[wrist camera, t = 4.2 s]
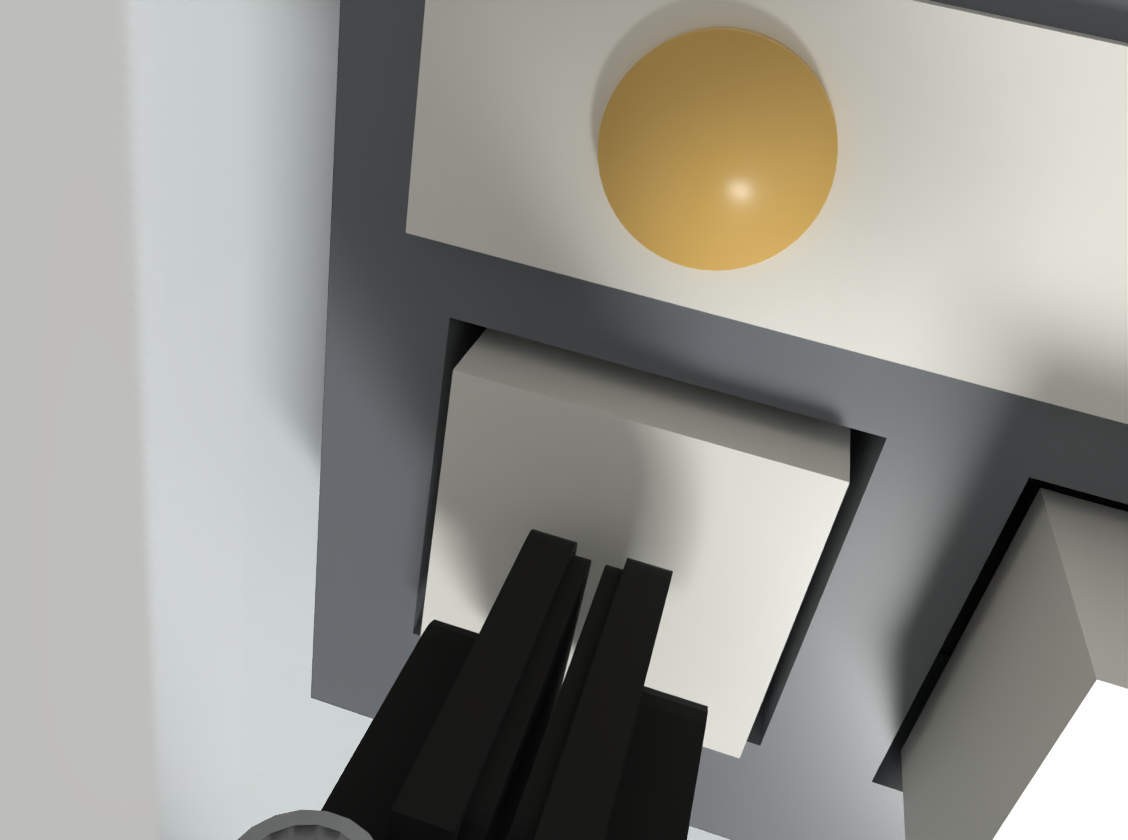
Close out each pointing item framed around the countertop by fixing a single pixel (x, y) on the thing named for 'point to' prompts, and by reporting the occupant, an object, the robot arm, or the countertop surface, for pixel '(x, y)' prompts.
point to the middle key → (1033, 693)
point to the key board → (739, 305)
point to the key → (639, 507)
